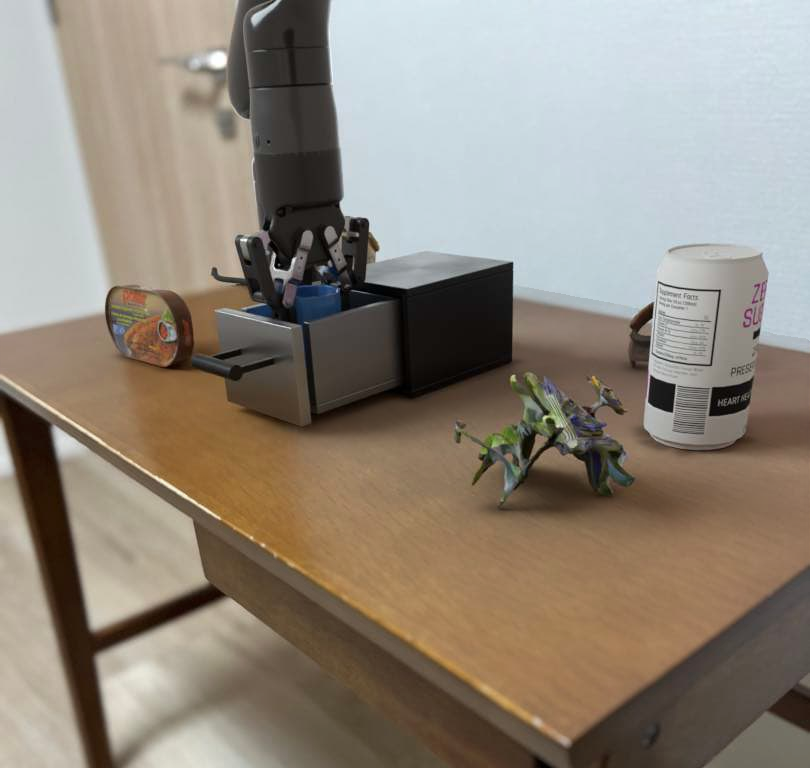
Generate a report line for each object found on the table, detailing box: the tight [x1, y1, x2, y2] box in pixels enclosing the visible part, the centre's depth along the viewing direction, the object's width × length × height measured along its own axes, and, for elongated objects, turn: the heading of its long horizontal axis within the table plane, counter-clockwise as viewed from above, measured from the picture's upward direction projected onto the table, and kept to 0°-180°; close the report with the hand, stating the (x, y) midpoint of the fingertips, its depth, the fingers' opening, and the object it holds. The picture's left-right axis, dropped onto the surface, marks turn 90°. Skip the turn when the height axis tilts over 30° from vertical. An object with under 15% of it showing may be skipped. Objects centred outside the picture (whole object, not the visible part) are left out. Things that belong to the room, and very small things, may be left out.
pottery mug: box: [627, 301, 654, 369], centre depth 91 cm, size 12×10×8 cm
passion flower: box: [453, 371, 636, 510], centre depth 63 cm, size 11×11×12 cm
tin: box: [104, 284, 195, 368], centre depth 101 cm, size 15×3×8 cm, turn 47°
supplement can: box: [643, 242, 769, 451], centre depth 71 cm, size 8×8×15 cm
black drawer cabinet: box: [320, 250, 514, 400], centre depth 92 cm, size 16×13×11 cm
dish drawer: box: [190, 288, 406, 428], centre depth 82 cm, size 19×11×9 cm, turn 135°
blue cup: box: [292, 285, 342, 368], centre depth 83 cm, size 6×6×6 cm
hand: (314, 339), depth 83 cm, fingers closed on blue cup, 5 cm apart
